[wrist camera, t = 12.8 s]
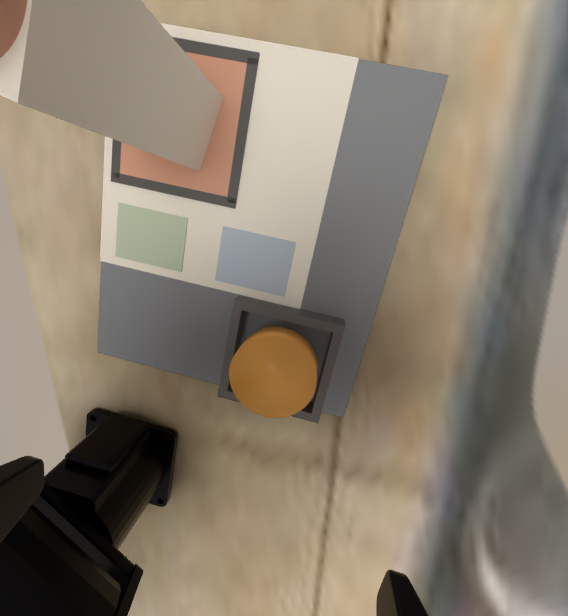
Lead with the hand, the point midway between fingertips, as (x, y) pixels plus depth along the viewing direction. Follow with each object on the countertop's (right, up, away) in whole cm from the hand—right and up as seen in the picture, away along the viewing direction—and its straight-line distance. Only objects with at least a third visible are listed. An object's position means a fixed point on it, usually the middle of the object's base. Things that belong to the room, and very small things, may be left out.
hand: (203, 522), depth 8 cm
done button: (+2, +2, +9) cm, 10 cm away
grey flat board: (0, +9, +10) cm, 14 cm away
